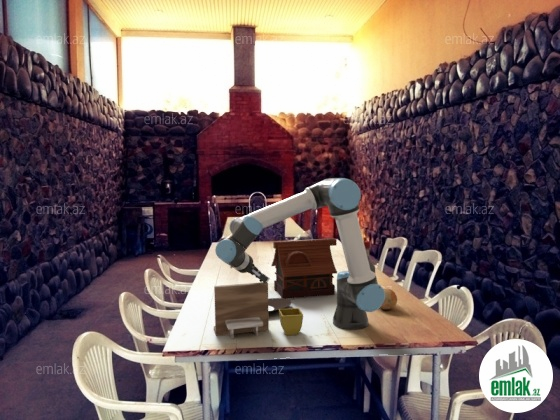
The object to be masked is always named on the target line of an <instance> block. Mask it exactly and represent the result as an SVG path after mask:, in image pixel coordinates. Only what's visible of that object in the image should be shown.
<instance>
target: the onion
mask: <svg viewBox="0 0 560 420" xmlns="http://www.w3.org/2000/svg"><path fill="white" fill-rule="evenodd" d="M383 290H384V292H385V300H384V302H383V303H382V306H381V307H380V308H379V309H381V310H385V311H386V310H392V309H394V308H395V307H396V305H397V303H398V297H397V295H396V292H395V291H394V290H393V289H391V288H383Z"/></svg>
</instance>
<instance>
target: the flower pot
mask: <svg viewBox="0 0 560 420" xmlns="http://www.w3.org/2000/svg"><path fill="white" fill-rule="evenodd" d="M278 315H279V322H280V325H281V328H282V330H283V333H284V335H286V336H291V335H292V336H293V335H294V336H295V335H299V334H300V332H301V330H302V327H303V319H304V313H303V312H302V310H301V309H300V308H298V307H295V308H282V309H279V310H278Z"/></svg>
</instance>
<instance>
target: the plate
mask: <svg viewBox="0 0 560 420" xmlns="http://www.w3.org/2000/svg"><path fill="white" fill-rule="evenodd" d="M291 304H292V300H291V299H289V298H288V299H284V298H281V297H271V298H269V297H268V307H272V308H273V310H268V313H271V312H275V311H277V310H278V311H279V309H286V308H287V307H289V306H291Z"/></svg>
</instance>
